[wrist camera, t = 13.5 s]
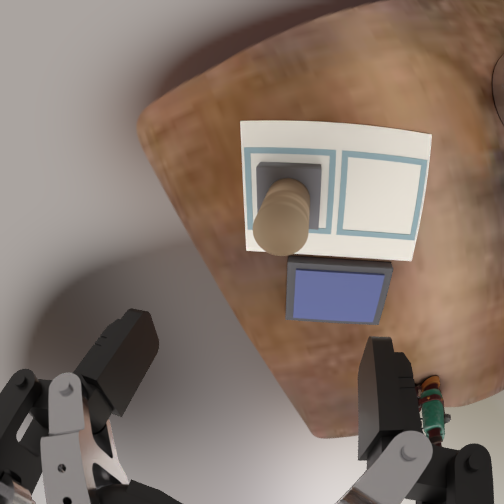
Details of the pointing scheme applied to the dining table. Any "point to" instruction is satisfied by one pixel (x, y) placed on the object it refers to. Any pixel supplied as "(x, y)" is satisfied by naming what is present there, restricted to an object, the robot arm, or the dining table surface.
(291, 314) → the ink pad
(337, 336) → the dining table surface
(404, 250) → the form board
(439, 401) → the binoculars
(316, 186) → the stamp
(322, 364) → the dining table surface
